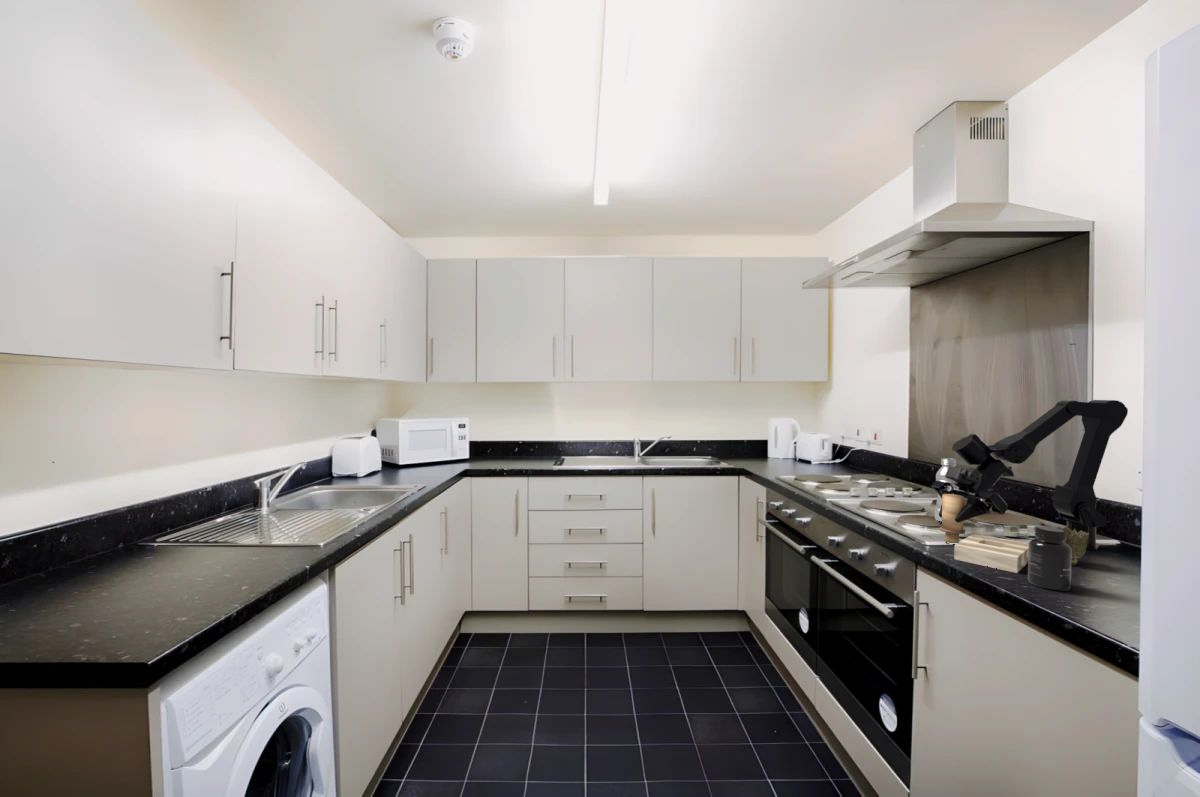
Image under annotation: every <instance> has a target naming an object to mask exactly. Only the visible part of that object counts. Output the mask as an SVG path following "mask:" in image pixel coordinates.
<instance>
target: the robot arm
mask: <svg viewBox="0 0 1200 797" xmlns="http://www.w3.org/2000/svg"><path fill="white" fill-rule="evenodd" d="M1128 411H1129V409H1128V407H1126V405H1125V404H1124V403H1123V402H1122V401H1120V400H1117V399H1116V400H1114V399H1092V400H1090V401H1088V402H1086V401H1084V402H1083V401H1077V400H1069V399H1067V400H1065V399H1064V400H1060V401H1058V402H1057V403H1055V406H1052V407H1051V408H1050V409H1049V410H1048V411H1046V412H1045V413H1044V414H1043V415H1041V416H1040V417H1038V418H1037V419H1036V420H1034V421H1033V422H1032V423H1030V424H1029V425H1027V426H1026V427H1025V428H1024V429H1022V430H1021V431H1020V432H1017V433H1014V434H1012V435H1011V434H1010V435H1008V436H1006V437H1004V438H1002V439H1000V440H998V441H996V442H995V443H994V444H990V445H987V444H986V443H985V442H983V440H982V439H980V437H979V436H978V435H977V434H974V433H970V434H968V436H965V437H963V438H960V439H959V440H957V441H955V442H954V443H953V445H952V447H951V450H952V451H953V452H954V453H955V454H956V455H957V456H959V457H960V458H961V459H962V460H963V461H964V462H965V463H966V464H967V465H969V466H970V465H971V466H973V465H975V466H976V467H975V468H973V467H968V468H967V469H966V468H962V467H956V466H955V467H952V466H949V468H948V471H947V473H946V475H945V477H946V478H950V479H951V480H953V481H955V483H954V484H955V485H956V486H957V487H959V488H958V489H954V487H953V486H952V485H951V484H950V483H949V482H944V481H936V480H935V481H934V482H933V483H932V484H931V486H930V487H932V489H933V490H934V491H935V492H936V494H937V493H938V495H939V496H940V497H941V498H942V494H954V495H960V496H964V500H966V504H964V508H963V509H962V510H961V511H960V513H959V514H958V515H957V517H956V519H955V521H956V522H957V523H959V522H962V521H964V522H965V521H967V520H970V519H973V518H975V517H979V516H982V515H986V514H989V515H990V513H991V511H992V513H994V514H999V515H1002V516H1003V515H1004V514H1005V513H1006V512H1007V511H1008V508H1009V507H1008V506H1009V505H1008V503H1007V502H1006V501H1005V500H1004V499H1003V497H1001V495H1000V493H998V492H995V491H996V490H997V487H995V485H996V483H998V481H999V480H1000V479H1001V478H1002V477H1007V478H1008V477H1014V476H1015V474H1014V472H1013V468H1012V466H1007V465H1006V464H1005V463H1010V464H1016V465H1018V464H1019V465H1020V464H1022V463H1024V462H1026V461H1027V460H1028V459H1029V457H1030V456H1031V455H1033V454H1034V452H1035V450H1036V448H1037V446H1038V445H1039V444H1040V443H1041V442H1042V441H1043V440H1045V439H1047V437H1049V436H1050V435H1051V434H1052V433H1054V432H1056V431H1057V430H1059V429H1060V428H1061V427H1062V426H1064V425H1065V424H1066V423H1068V422H1070V421H1071V420H1072V419H1073V418H1074V417H1076V416H1079V417H1081V422H1082V425H1083V429H1084V432H1083V435H1082V439H1081V441H1080V445H1079V449H1078V452H1077V453H1076V457H1075V461H1074V463H1073V466H1072V470H1071V473H1070V475H1069V478H1068V480H1067V482H1065V483H1064V484H1063V485H1059V484H1056V485H1055V487H1054V491H1053V494H1052V496H1051V498H1050V499H1051V500H1052V506H1053V507H1054V509H1055V510H1056V512H1057V513H1058V516H1059V518H1060V519H1062V520H1066V527H1067V528H1069V529H1070V530H1072V531H1073V530H1074V529H1076V531H1077V533H1078V532H1079V531H1081V530H1082V532H1086V534H1087V533H1089V537H1088V543H1087V548H1086V550H1093V551H1097V550H1098V548H1099V547H1100V544H1099V543H1097V528H1100V527H1101V528H1104V527H1105V526H1106V524H1107V521H1108V519H1107V517H1105V516H1104V515H1103V514H1102V513H1101V512H1100V511H1099V510H1098V509H1097V497H1096V492H1095V488H1094V486H1095V482H1096V480H1097V477H1098V474H1099V470H1100V468H1101V464H1102V461H1103V459H1104V455H1105V452H1106V448H1107V446H1108V444H1109V443H1108V442H1109V440H1110V437H1111V436H1112V435H1113V433H1115V432H1117V431H1118V429H1119V428H1121V426H1122V425H1123V423H1124V422H1125V420H1126V418H1127V416H1128ZM990 509H991V511H990ZM939 516H940V517H941V518H942V505H941V508H940V512H939Z"/></svg>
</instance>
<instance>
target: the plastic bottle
mask: <svg viewBox="0 0 1200 797" xmlns="http://www.w3.org/2000/svg"><path fill="white" fill-rule="evenodd" d="M940 459H941V460H940V465H941V467H940V468H938V470H937V472H936V474H935V481H944V482H949V483H950V484H951V485H952V486H953V487H954V489H958V488H959V487H957V486H956V485H955V484H954V483H955V481H953V480H951V479H950V478H946V477H945V475H946V473H947V471H948V468H949V466H952V467H956V466H957V460H956V459H955V458H947V457H946V458H945V457H944V458H940ZM936 495H937V496H936V497H937V498H936V506H935V508H934V509H935V510H934V519H935V520H936V521H937V520H938V521H942V518H941V517H940V516H939V512H940V508H941V505H942V498H941V497H940V496H939V495H938V493H937V492H936ZM938 521H937V522H938Z"/></svg>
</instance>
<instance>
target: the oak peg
mask: <svg viewBox="0 0 1200 797" xmlns="http://www.w3.org/2000/svg"><path fill="white" fill-rule="evenodd" d="M964 506H965V499H964V496H960V495H954V494H942V523H941V526H939V530H940V531H941V532H942V533H943V532H944V535H945V540H944V542H945V541H946V542H949V543H958V542H960V535H963V534H966V529H964V522H965V521H962V522H959V523H957V522H956V521H955V519H956V517H957V515H958V514H959V513H960V511H961V510H962V509H963V508H964Z"/></svg>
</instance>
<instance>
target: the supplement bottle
mask: <svg viewBox="0 0 1200 797" xmlns="http://www.w3.org/2000/svg"><path fill="white" fill-rule="evenodd" d="M1034 530H1035V532H1034V536H1036V537H1035V538H1032V539H1031V540H1030V541H1029V542H1028V543H1029V553H1028V563H1027V580H1028V582H1029V583H1030V584H1032V585H1033V586H1036V587H1038V588H1042V589H1045V588H1046V590H1050V591H1056V590H1058V591H1059V592H1065V591H1066V592H1067V591H1069V590H1070V589H1071V582H1072V565H1071V561H1072V549H1071V547H1070V546H1069V545H1068V544H1066V543H1065V542H1064V541H1065V540H1066V531H1064V530H1062V529H1058V528H1057V527H1052V526H1043V525H1040V526H1039V525H1037V526H1035V529H1034Z"/></svg>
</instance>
